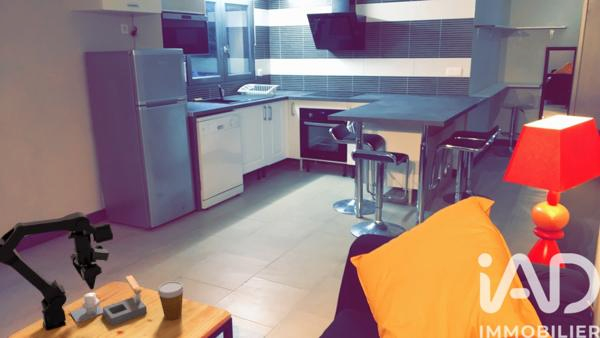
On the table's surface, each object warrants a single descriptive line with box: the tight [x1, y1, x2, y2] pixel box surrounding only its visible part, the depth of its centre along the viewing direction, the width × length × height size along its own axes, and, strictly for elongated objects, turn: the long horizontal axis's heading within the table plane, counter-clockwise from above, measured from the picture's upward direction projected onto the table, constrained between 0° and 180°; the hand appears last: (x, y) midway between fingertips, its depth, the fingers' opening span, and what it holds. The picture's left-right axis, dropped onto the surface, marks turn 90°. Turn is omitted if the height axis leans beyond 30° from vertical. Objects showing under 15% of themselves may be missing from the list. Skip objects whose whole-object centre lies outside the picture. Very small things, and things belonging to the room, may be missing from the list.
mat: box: [69, 304, 104, 324], centre depth 178 cm, size 10×9×1 cm
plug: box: [81, 292, 100, 315], centre depth 178 cm, size 6×6×7 cm
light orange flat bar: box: [125, 275, 142, 295], centre depth 184 cm, size 14×3×1 cm, turn 34°
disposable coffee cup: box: [157, 280, 185, 321], centre depth 175 cm, size 10×10×12 cm
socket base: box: [102, 292, 148, 326], centre depth 177 cm, size 13×10×7 cm
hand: (88, 284), depth 176 cm, fingers open, 9 cm apart
